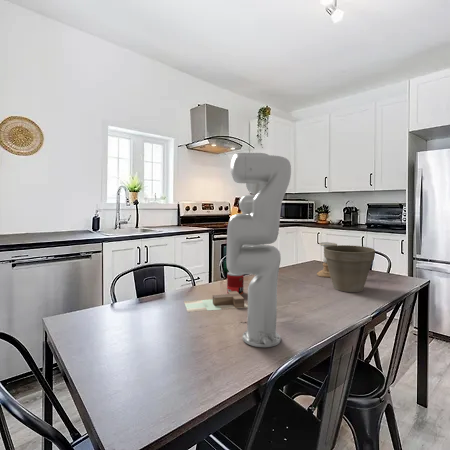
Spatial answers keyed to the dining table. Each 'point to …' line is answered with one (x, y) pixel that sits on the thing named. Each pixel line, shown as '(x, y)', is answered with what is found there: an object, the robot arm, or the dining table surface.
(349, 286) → the plant pot
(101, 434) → the dining table surface
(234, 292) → the t block
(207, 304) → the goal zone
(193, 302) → the board
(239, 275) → the canned food
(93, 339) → the dining table surface
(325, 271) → the candle holder
